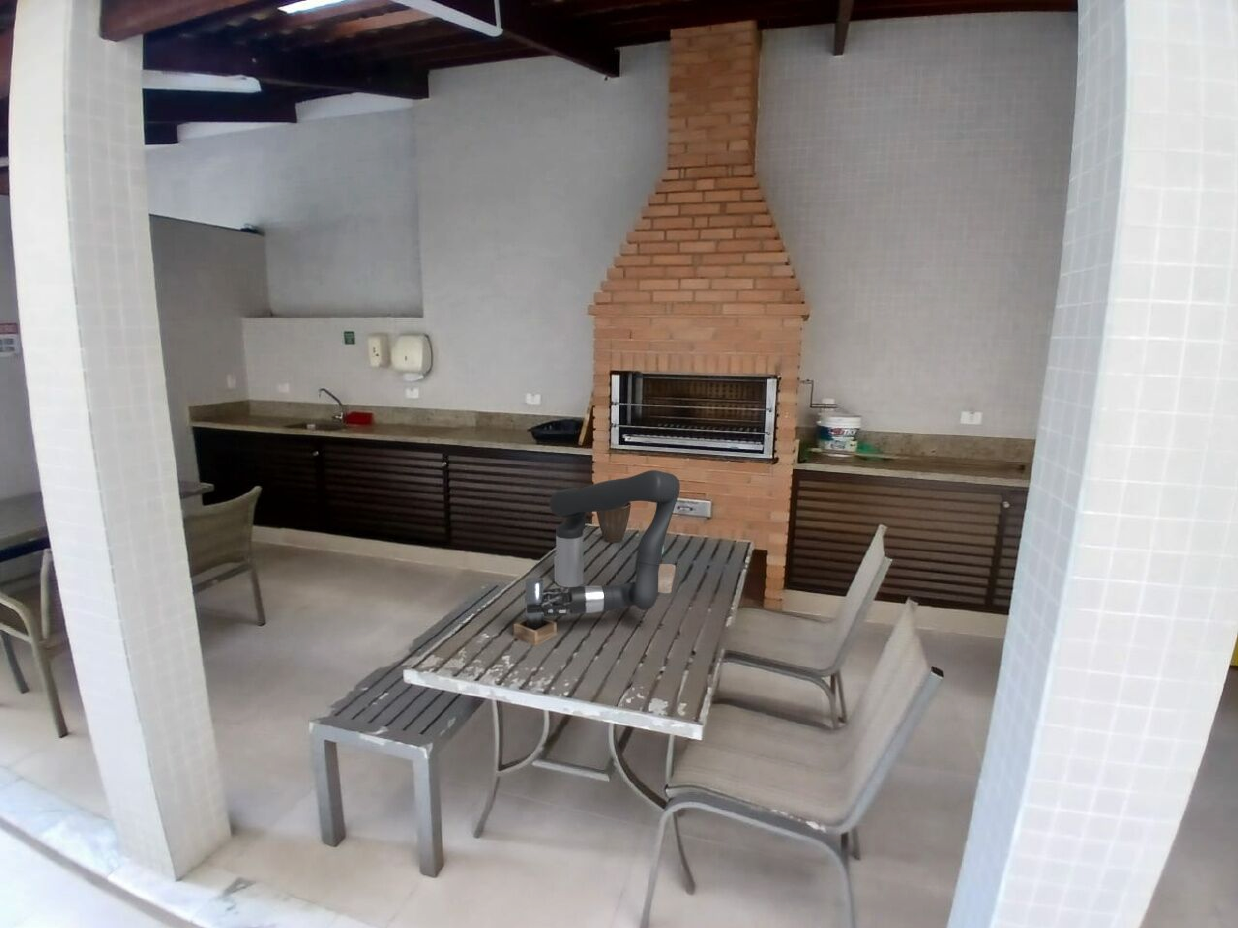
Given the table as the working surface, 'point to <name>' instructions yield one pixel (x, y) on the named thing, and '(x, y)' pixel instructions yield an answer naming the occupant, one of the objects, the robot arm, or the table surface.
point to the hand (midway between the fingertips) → (526, 603)
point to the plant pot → (614, 523)
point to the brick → (666, 578)
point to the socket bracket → (535, 632)
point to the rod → (534, 602)
